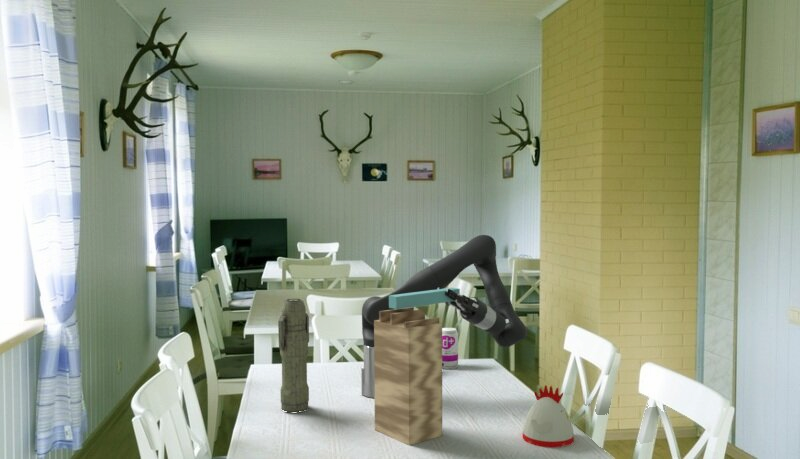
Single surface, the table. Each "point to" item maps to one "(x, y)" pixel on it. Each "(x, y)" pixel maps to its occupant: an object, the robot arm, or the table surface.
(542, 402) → the kitchen timer
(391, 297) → the block
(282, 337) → the stone statue
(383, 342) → the stand
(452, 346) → the supplement can
